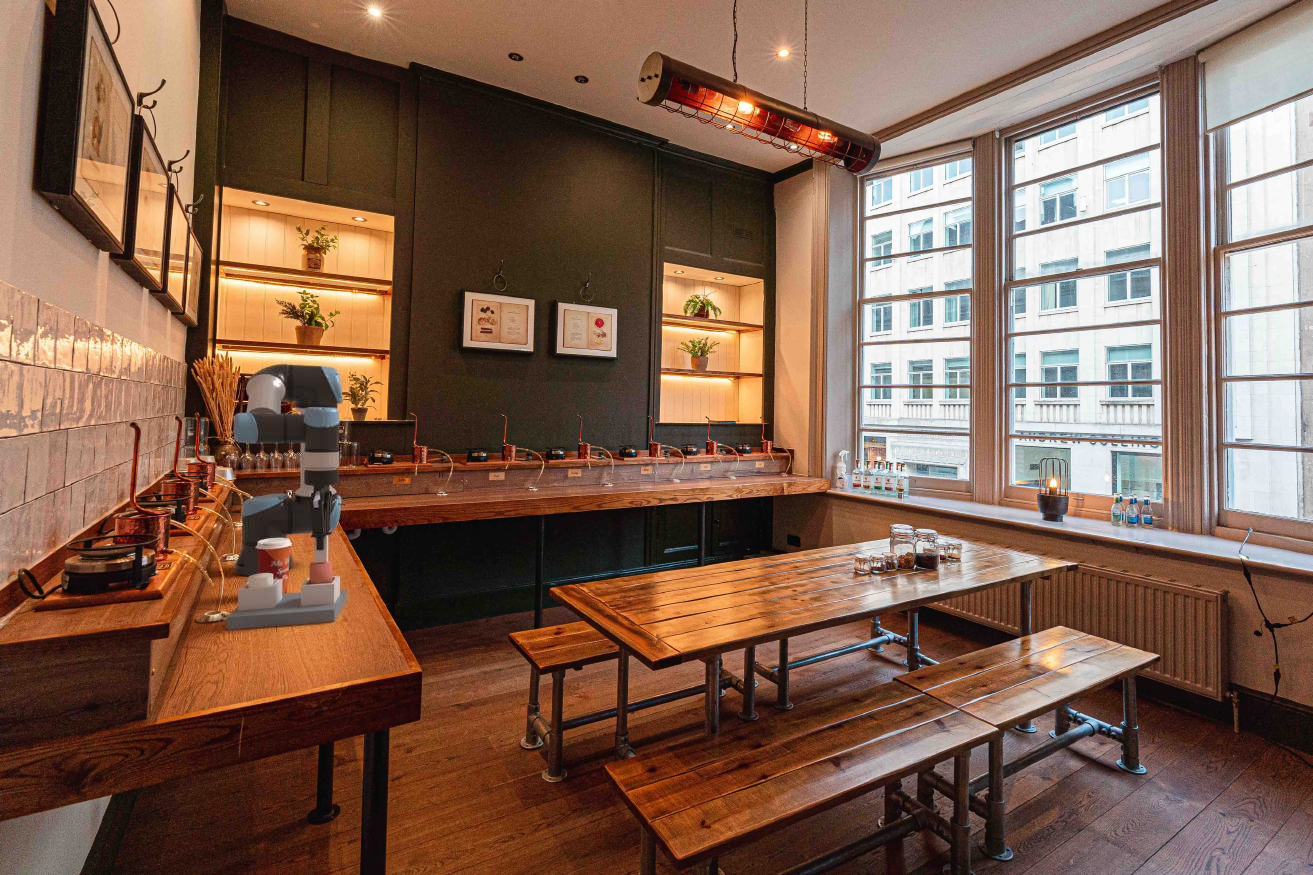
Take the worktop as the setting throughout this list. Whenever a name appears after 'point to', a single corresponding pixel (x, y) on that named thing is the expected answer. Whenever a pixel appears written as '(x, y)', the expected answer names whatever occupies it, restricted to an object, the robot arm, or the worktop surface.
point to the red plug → (321, 572)
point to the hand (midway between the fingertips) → (321, 561)
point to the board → (287, 605)
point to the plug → (260, 580)
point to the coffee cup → (275, 558)
